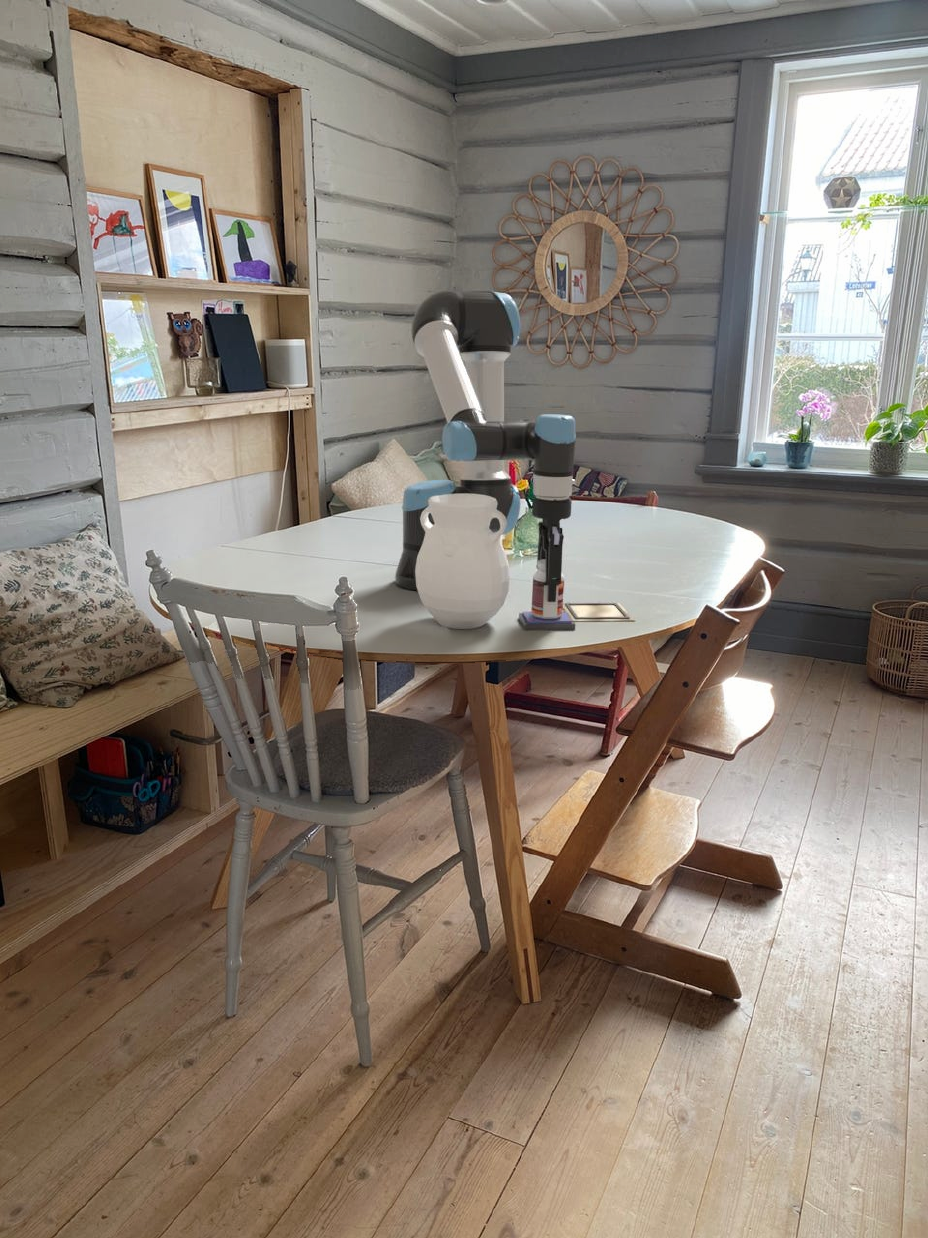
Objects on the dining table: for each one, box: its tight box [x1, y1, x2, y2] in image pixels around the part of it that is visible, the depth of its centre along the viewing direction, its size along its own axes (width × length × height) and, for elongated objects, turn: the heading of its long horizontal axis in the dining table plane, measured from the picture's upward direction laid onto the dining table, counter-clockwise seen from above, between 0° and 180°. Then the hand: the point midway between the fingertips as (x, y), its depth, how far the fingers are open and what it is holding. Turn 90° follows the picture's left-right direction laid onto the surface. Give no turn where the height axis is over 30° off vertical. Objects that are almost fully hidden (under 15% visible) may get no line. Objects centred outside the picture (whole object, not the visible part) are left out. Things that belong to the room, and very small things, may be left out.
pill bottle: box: [530, 559, 565, 619], centre depth 188 cm, size 6×6×11 cm
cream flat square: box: [562, 602, 636, 622], centre depth 199 cm, size 13×13×1 cm
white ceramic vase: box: [415, 493, 511, 630], centre depth 186 cm, size 19×18×25 cm
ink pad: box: [518, 610, 576, 631], centre depth 190 cm, size 10×8×2 cm
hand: (546, 611), depth 189 cm, fingers closed on pill bottle, 6 cm apart
